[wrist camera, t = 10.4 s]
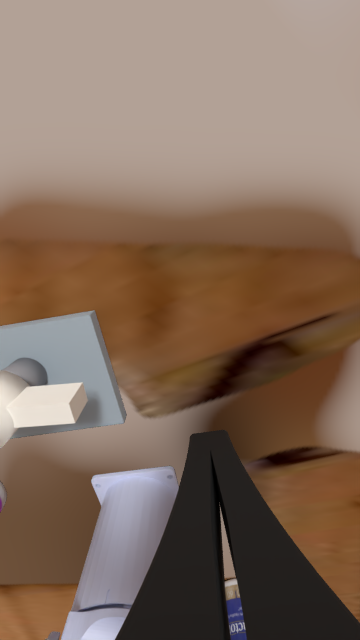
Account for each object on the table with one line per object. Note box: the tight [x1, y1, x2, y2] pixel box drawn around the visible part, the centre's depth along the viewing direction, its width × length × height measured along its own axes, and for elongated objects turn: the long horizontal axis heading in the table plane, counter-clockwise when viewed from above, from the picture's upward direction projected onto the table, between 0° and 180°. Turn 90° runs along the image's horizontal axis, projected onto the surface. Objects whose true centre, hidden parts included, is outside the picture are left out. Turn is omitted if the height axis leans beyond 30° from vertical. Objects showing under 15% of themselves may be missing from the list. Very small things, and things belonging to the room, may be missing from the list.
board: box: [0, 310, 126, 439], centre depth 17 cm, size 10×12×6 cm
